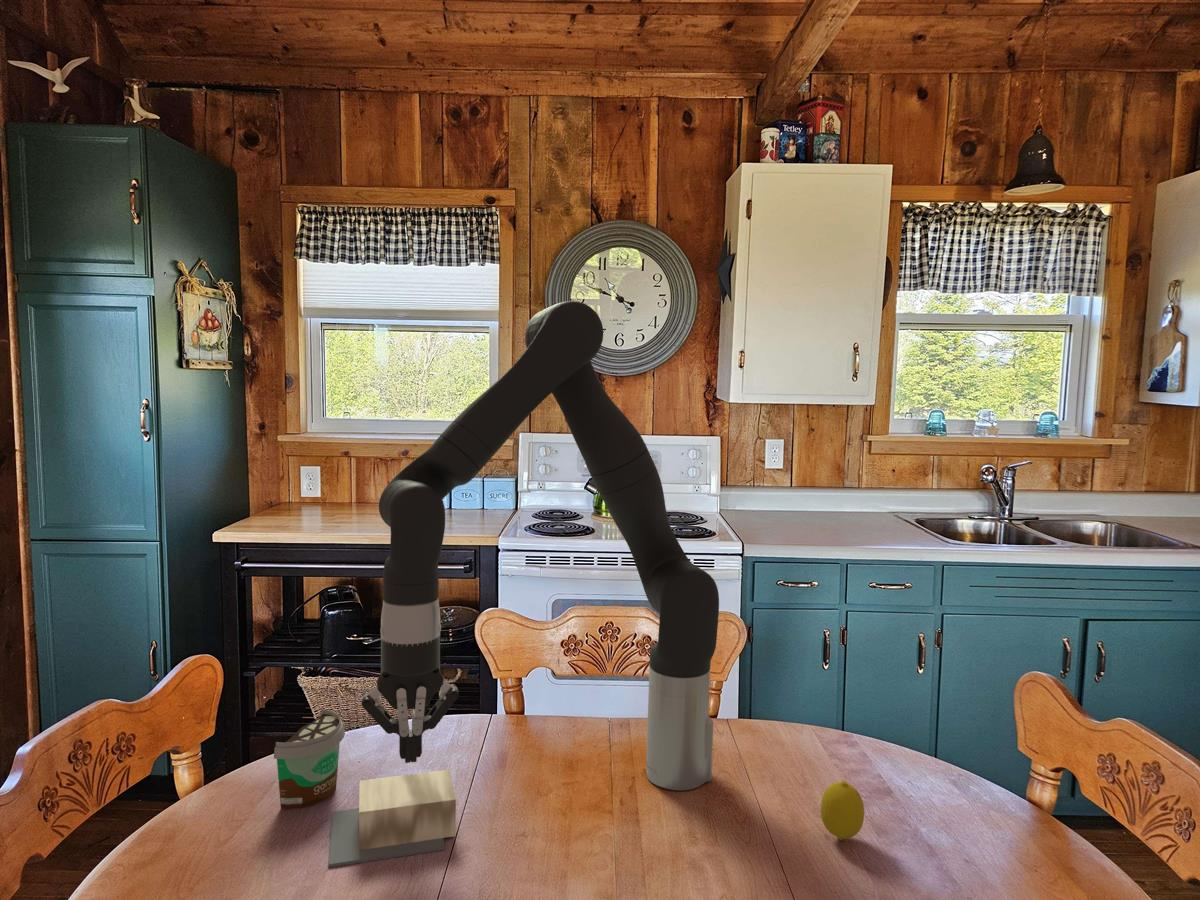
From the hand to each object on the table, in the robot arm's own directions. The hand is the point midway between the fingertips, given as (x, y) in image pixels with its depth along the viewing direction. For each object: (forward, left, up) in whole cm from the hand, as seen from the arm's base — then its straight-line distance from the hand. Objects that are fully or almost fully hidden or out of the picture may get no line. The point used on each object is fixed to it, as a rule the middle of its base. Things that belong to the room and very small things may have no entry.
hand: (410, 759), depth 102 cm
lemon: (-55, +17, -10) cm, 58 cm away
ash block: (-6, 0, -7) cm, 9 cm away
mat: (+3, 0, -10) cm, 10 cm away
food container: (+12, -12, -10) cm, 20 cm away
